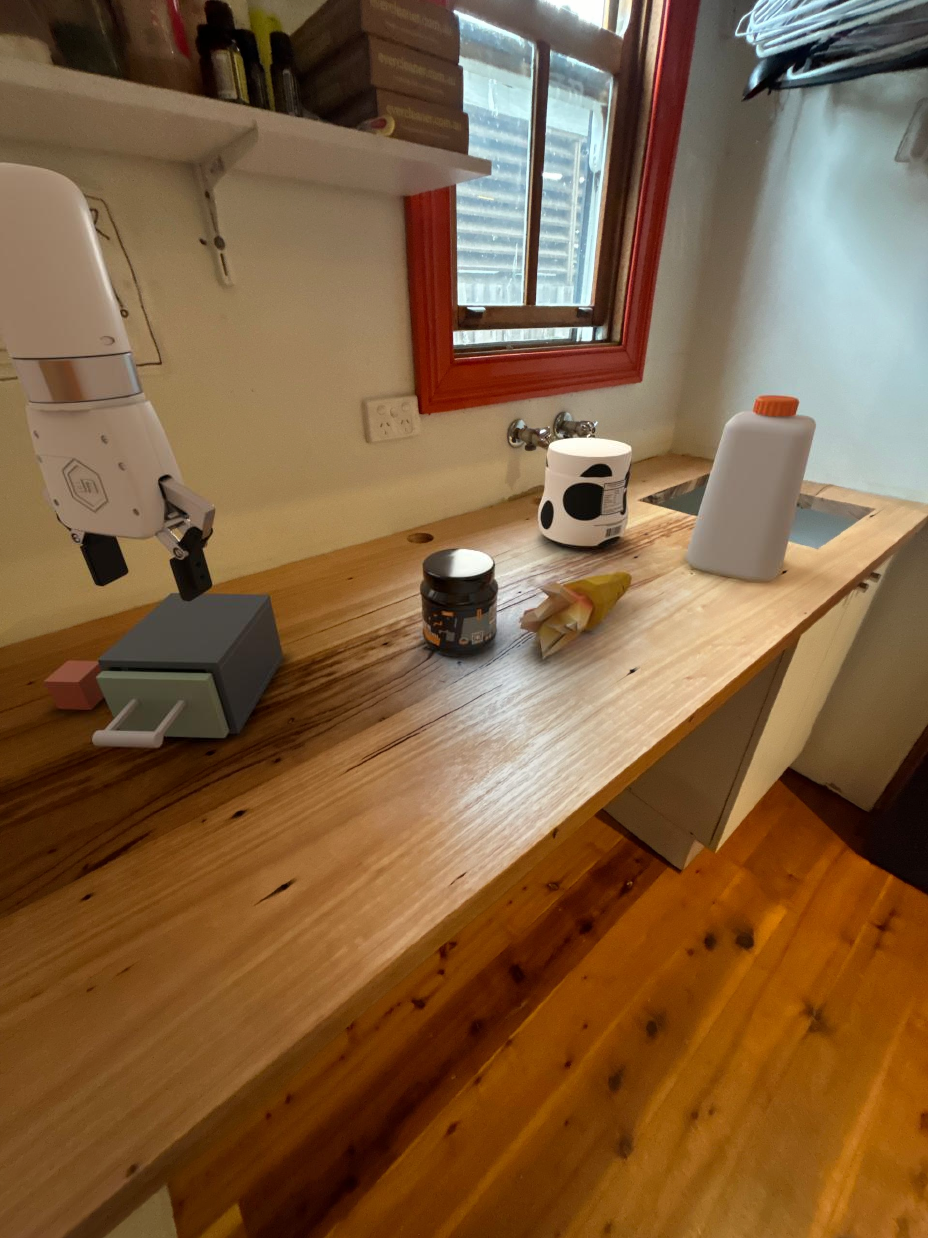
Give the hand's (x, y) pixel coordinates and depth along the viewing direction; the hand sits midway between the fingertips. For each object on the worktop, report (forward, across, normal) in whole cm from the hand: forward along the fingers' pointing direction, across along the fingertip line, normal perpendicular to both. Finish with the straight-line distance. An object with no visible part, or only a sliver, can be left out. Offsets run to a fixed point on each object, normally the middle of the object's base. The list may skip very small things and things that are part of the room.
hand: (154, 586), depth 49 cm
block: (+19, -20, +2) cm, 28 cm away
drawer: (+18, -5, +3) cm, 19 cm away
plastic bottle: (+20, +59, +67) cm, 91 cm away
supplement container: (+20, +19, +28) cm, 39 cm away
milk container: (+20, +31, +71) cm, 80 cm away
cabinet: (+19, -6, +8) cm, 22 cm away
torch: (+20, +36, +37) cm, 55 cm away
